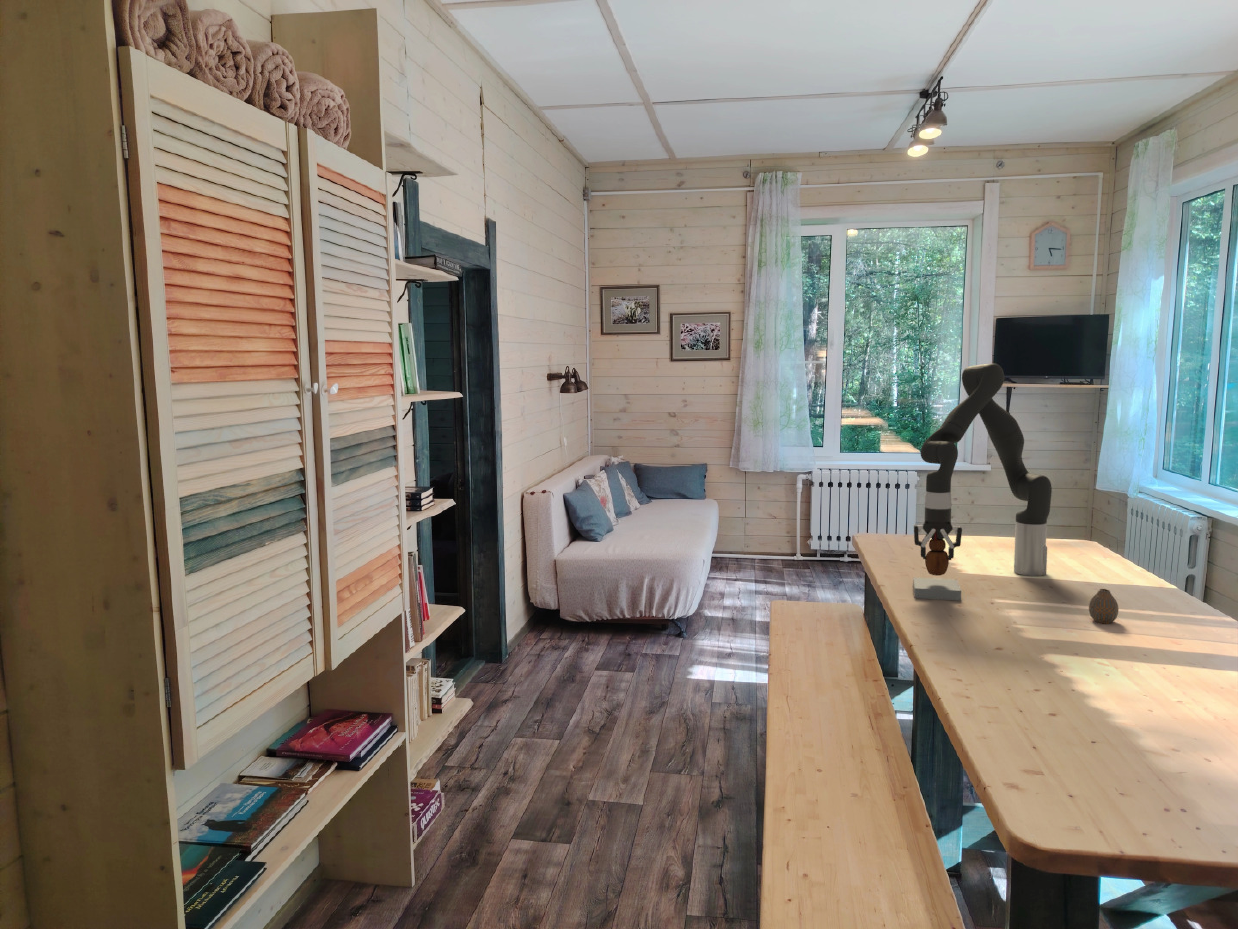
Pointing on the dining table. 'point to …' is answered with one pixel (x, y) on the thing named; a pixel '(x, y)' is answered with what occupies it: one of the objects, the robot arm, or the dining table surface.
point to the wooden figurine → (937, 557)
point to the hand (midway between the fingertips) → (936, 559)
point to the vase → (1103, 607)
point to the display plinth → (936, 588)
